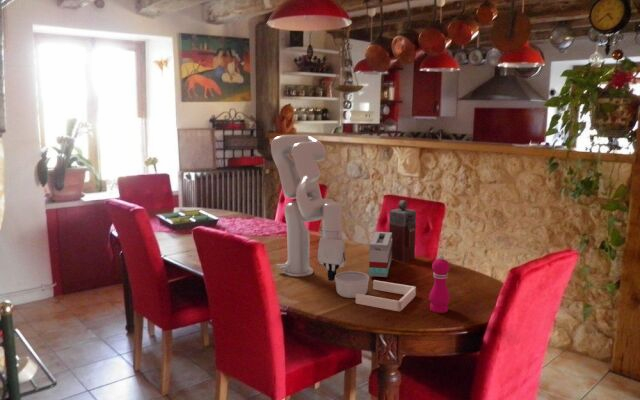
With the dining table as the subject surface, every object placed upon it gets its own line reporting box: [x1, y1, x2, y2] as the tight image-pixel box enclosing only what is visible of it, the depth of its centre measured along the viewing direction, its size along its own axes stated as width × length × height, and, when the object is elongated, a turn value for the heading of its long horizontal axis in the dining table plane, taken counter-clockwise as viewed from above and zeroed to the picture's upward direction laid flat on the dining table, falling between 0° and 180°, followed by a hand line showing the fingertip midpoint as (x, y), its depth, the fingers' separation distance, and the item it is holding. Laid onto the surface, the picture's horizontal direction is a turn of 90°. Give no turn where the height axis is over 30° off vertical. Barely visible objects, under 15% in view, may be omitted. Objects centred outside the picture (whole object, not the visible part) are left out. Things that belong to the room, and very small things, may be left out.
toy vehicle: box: [368, 231, 393, 278], centre depth 231 cm, size 8×30×15 cm, turn 169°
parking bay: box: [355, 279, 417, 313], centre depth 195 cm, size 17×18×4 cm
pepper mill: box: [428, 254, 451, 314], centre depth 183 cm, size 7×7×20 cm
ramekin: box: [334, 270, 370, 299], centre depth 201 cm, size 13×13×7 cm
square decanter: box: [388, 199, 417, 263], centre depth 245 cm, size 9×11×28 cm
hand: (331, 279), depth 204 cm, fingers closed
